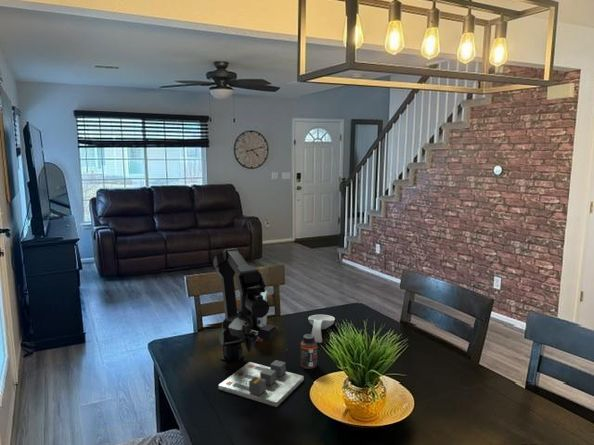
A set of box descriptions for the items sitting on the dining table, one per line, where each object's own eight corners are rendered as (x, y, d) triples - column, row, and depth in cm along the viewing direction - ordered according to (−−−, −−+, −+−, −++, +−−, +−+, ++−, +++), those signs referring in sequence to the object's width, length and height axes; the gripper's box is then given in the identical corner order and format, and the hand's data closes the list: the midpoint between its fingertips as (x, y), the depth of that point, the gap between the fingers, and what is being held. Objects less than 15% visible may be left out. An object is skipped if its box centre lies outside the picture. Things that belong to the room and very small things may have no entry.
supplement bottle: (315, 370, 158) (315, 340, 156) (299, 368, 159) (299, 338, 157) (318, 362, 164) (318, 333, 162) (302, 361, 165) (302, 332, 163)
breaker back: (270, 373, 152) (270, 364, 152) (275, 369, 155) (275, 360, 155) (280, 376, 150) (280, 366, 150) (285, 372, 153) (285, 362, 153)
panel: (218, 389, 146) (218, 384, 146) (249, 365, 162) (249, 361, 161) (276, 407, 136) (276, 402, 135) (303, 380, 151) (303, 375, 151)
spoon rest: (310, 320, 204) (310, 305, 203) (335, 322, 203) (335, 307, 201) (302, 342, 181) (302, 325, 180) (331, 344, 179) (331, 327, 178)
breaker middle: (260, 382, 147) (260, 372, 146) (265, 377, 150) (265, 368, 149) (270, 385, 145) (270, 375, 144) (276, 380, 148) (276, 370, 147)
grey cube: (249, 392, 141) (249, 381, 140) (255, 386, 144) (255, 376, 143) (259, 395, 139) (259, 384, 138) (265, 389, 142) (265, 379, 142)
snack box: (263, 341, 182) (263, 306, 179) (250, 341, 182) (249, 306, 179) (267, 321, 203) (267, 290, 200) (255, 321, 203) (254, 290, 200)
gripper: (210, 309, 143) (212, 354, 146) (259, 321, 134) (259, 369, 137) (232, 299, 153) (233, 341, 156) (278, 309, 144) (278, 354, 147)
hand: (249, 351), depth 148 cm, fingers closed
